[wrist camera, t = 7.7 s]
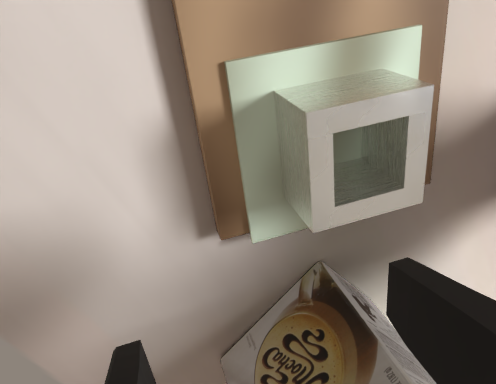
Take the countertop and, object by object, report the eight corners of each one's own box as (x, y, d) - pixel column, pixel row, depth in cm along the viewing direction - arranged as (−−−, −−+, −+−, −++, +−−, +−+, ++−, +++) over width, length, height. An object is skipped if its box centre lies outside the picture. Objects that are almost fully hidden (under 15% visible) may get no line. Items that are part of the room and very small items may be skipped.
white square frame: (382, 68, 18) (434, 84, 15) (378, 171, 21) (422, 202, 18) (273, 90, 17) (306, 112, 14) (283, 195, 20) (313, 233, 17)
